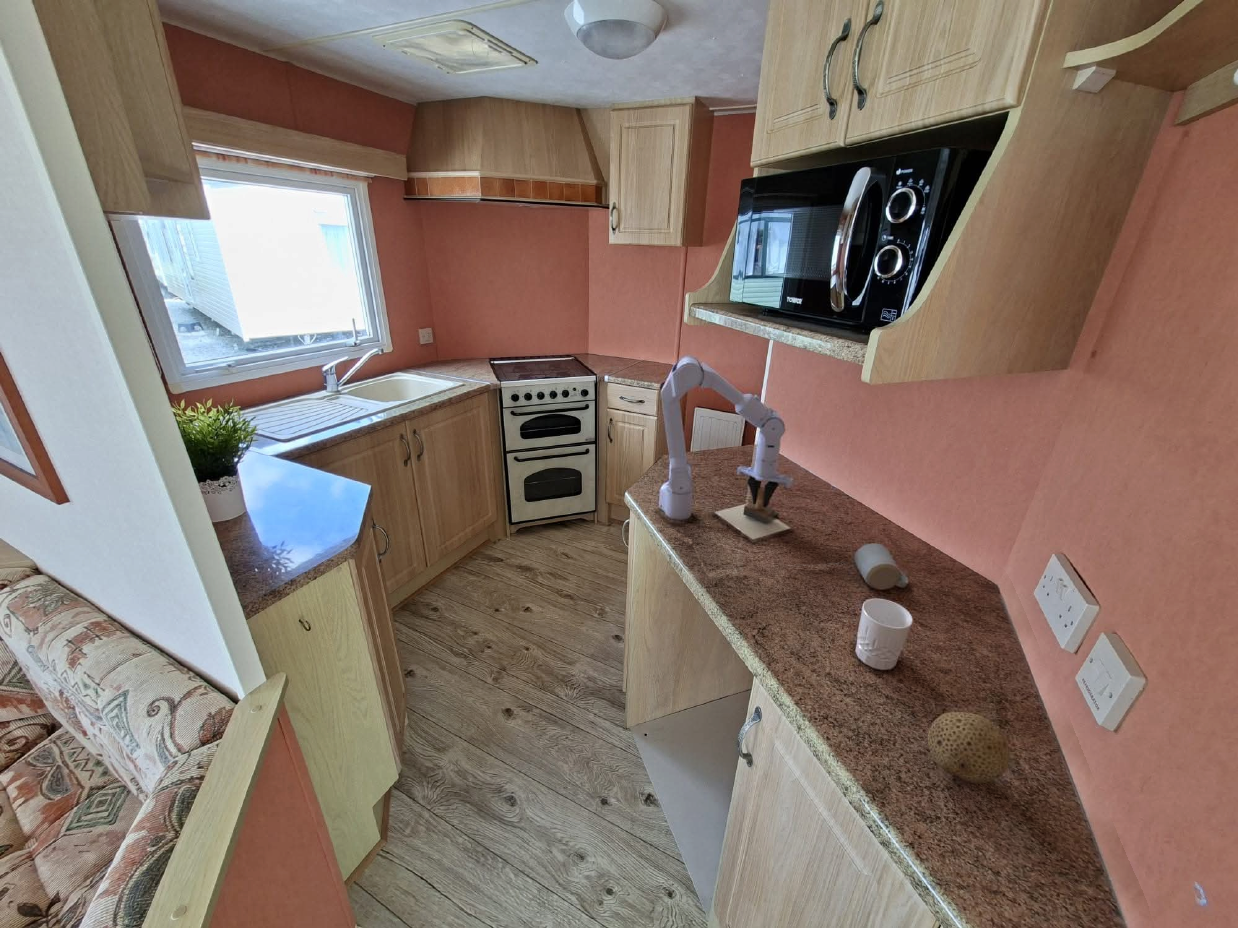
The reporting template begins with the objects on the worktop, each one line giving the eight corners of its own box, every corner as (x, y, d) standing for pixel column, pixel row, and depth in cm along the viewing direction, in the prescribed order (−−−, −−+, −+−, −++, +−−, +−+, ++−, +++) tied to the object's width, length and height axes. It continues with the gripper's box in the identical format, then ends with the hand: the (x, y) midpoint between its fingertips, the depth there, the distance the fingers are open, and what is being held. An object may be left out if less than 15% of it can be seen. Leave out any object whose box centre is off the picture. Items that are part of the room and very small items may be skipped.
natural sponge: (952, 809, 65) (974, 758, 61) (905, 748, 73) (922, 699, 69) (1011, 797, 66) (1036, 746, 63) (958, 739, 75) (978, 690, 71)
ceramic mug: (863, 591, 107) (871, 561, 104) (850, 569, 115) (857, 541, 112) (913, 594, 107) (923, 565, 104) (897, 572, 114) (905, 544, 111)
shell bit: (762, 515, 136) (762, 512, 136) (769, 512, 138) (770, 509, 137) (771, 519, 134) (771, 516, 134) (778, 516, 136) (778, 513, 135)
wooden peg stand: (743, 514, 135) (747, 487, 132) (750, 510, 138) (754, 483, 135) (766, 523, 131) (771, 495, 128) (773, 518, 133) (778, 490, 130)
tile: (714, 515, 138) (714, 512, 138) (750, 506, 144) (750, 502, 143) (752, 543, 125) (752, 539, 125) (790, 531, 130) (790, 527, 130)
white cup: (842, 646, 92) (852, 604, 88) (874, 636, 95) (885, 594, 91) (876, 678, 85) (889, 633, 81) (909, 665, 88) (923, 621, 84)
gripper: (734, 456, 129) (729, 502, 134) (789, 469, 121) (781, 517, 126) (745, 448, 134) (740, 492, 139) (798, 460, 126) (790, 507, 132)
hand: (760, 504), depth 133 cm, fingers closed on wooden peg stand, 2 cm apart
